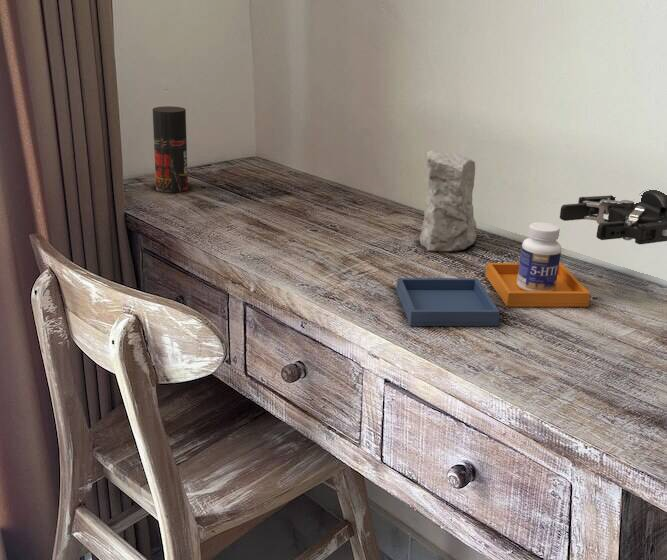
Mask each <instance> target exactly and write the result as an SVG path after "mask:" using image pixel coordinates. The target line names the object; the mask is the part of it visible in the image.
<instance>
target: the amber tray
mask: <svg viewBox="0 0 667 560" xmlns="http://www.w3.org/2000/svg"><path fill="white" fill-rule="evenodd" d="M519 263H520V262H486V268H485V274H484V275H485V277H486V279H487V280H488V281H489V283H490V284H491V286H492V288H493V289H494V290H495V292H496V293H497V295H498V296H499V298H500V299H501V300H502V302H503V303H504V305H505V306H506V307H508V308H509V307H511V308H515V307H517V308H518V307H520V308H522V307H524V308H527V307H529V308H531V307H533V308H537V307H539V308H544V307H545V308H553V307H555V308H563V307H564V308H565V307H566V308H567V307H568V308H569V307H570V308H571V307H572V308H576V307H577V308H587V307H589V305H590V300H591V299H590V298H591V292H590V290H588V289H587V287H585V286H584V285H583V284H582V283H581V282H580V281H579V280H578V278H577V277H576V276H575V275H574V274H573V273H572V272H571V271H570V270H569V269H568V268H567V267H566V266H565V265H564V264H563V263H561V262H559V268H558V274H557V280H556V286H555V289H554V290H553V291H525V290H523V289H521V288H520V287H519V286H518V285H517V277H518V270H519Z"/></svg>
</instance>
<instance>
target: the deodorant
mask: <svg viewBox="0 0 667 560" xmlns="http://www.w3.org/2000/svg"><path fill="white" fill-rule="evenodd" d="M186 113H187V109H186V108H185V107H181V106H174V105H173V106H172V105H171V106H168V105H167V106H166V105H165V106H157V107H153V108H152V127H153V129H152V131H153V148H154V149H153V150H154V152H153V153H154V170H155V171H154V172H155V173H154V174H155V189H156V190H157V191H158V192H161V193H167V194H168V193H170V194H175V193H182V192H185V191H187V190H188V189H189V181H188V179H189V178H188V145H187V141H188V140H187V114H186Z"/></svg>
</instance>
